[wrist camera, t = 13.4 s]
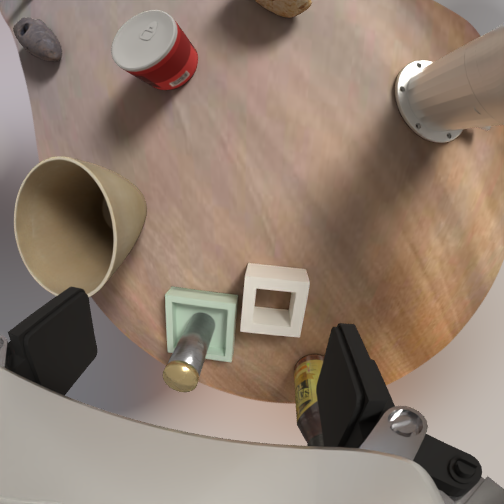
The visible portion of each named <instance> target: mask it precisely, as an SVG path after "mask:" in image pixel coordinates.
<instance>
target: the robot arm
mask: <svg viewBox="0 0 504 504" xmlns="http://www.w3.org/2000/svg"><path fill="white" fill-rule="evenodd" d="M400 89H401V91H400ZM395 97H396V102H397V106H398V108H399V111H400V113H401V115H402V117H403V118H404V120H405V122H406V123H407V124H408V126H409V127H410V128H411V129H412V130H413V131H414V132H415V133H416V134H418V135H419V136H421V137H422V138H424V139H426V140H429V141H431V142H436V143H443V142H449V141H451V140H454V139H455V138H457V137H458V136H459V135H460V134H461V132H462V131H463V129H468V128H477V127H478V128H481V129H483V130H485V131H488V130H489V129H490V127H491V126H498V125H504V23H503V24H501V25H500V26H498V27H497V28H495V29H494V30H492V31H490V32H489V33H486V34H485V35H483V36H481V37H479V38H477V39H475V40H473V41H471V42H469V43H468V44H466V45H464V46H462V47H460V48H458V49H456V50H454V51H453V52H451V53H449V54H447V55H445V56H444V57H442V58H440V59H438V60H436V61H435V62H431V61H426V60H418V61H414V62H411V63H409V64H408V65H406V66H405V67H404V68H403V69H402V70H401V71H400V73H399V74H398V76H397V79H396V83H395ZM416 126H417V128H416ZM8 334H9V337H10V340H11V341H10V342H9V343H8V342H7V339H6V338H5V337H4V336H2V335H0V504H504V489H503V488H502V487H500V486H499V485H498V484H497V483H495V482H494V481H493V480H492V479H490V478H489V477H487V478H486V479H484V478H482V477H481V475H482V469H481V465H480V463H479V461H478V460H477V459H476V458H475V457H473V456H472V455H470V454H468V453H465V452H463V451H461V450H459V449H457V448H455V447H452V446H450V445H448V444H446V443H444V442H442V441H440V440H437V439H436V438H434V437H431V436H429V435H427V434H426V432H427V427H428V425H427V421H426V419H425V418H424V416H423V415H422V414H421V413H420V412H419V411H417V410H415V409H413V408H410V407H407V406H396V407H395V405H394V403H393V401H392V398H391V396H390V394H389V392H388V389H387V387H386V385H385V382H384V380H383V378H382V376H381V373H380V371H379V369H378V367H377V365H376V363H375V361H374V360H371V359H370V357H369V355H368V352H367V350H366V348H365V346H364V344H363V341H362V339H361V337H360V335H359V333H358V331H357V329H356V326H355V325H354V324H342V323H339V324H338V325H337V327H333V328H332V330H331V334H330V338H329V342H328V346H327V349H326V353H325V357H324V361H323V364H322V368H321V371H320V375H319V378H318V382H317V386H316V394H317V401H318V407H319V414H320V420H321V427H322V434H323V442H324V447H317V446H296V445H279V444H267V443H256V442H247V441H238V440H231V439H223V438H217V437H210V436H205V435H199V434H194V433H188V432H183V431H178V430H174V429H169V428H165V427H161V426H156V425H153V424H149V423H145V422H141V421H138V420H134V419H131V418H127V417H124V416H120V415H117V414H114V413H111V412H107V411H105V410H102V409H98V408H96V407H93V406H90V405H88V404H85V403H82V402H79V401H77V400H74V399H71V398H69V397H66V396H65V394H66V393H67V392H68V390H69V389H70V388H71V387H72V385H73V384H74V383H75V382H76V380H77V379H78V378H79V377H80V376H81V374H82V373H83V372H84V371H85V369H86V368H87V367H88V366H89V364H90V363H91V362H92V361H93V360H94V358H95V357H96V355H97V345H96V341H95V336H94V330H93V324H92V318H91V311H90V305H89V298H88V295H87V293H85V290H84V289H81V288H76V287H69V288H68V289H66V290H65V291H63V292H62V293H60V294H59V295H58V296H56V297H55V298H53V299H52V300H51V301H49V302H48V303H46V304H45V305H44V306H42V307H41V308H39V309H38V310H37V311H35V312H34V313H33V314H31V315H30V316H29V317H27V318H26V319H25V320H23V321H22V322H21V323H19V324H18V325H17V326H16V327H14V328H13V329H12V330H10V331H9V332H8Z"/></svg>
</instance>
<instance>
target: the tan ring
mask: <svg viewBox="0 0 504 504" xmlns="http://www.w3.org/2000/svg"><path fill="white" fill-rule="evenodd" d="M255 1H256V2H257V3H259V5H261V6H263V7H264V8H266V9H267V10H269V11H271V12H273V13H275V14H277V15H279V16H282V17H288V18H291V17H294V16H297V15H299V14H301V13H302V12H304V11H305V10H307V9H308V8H309V7H310V6H311V4H312V1H311V0H255Z"/></svg>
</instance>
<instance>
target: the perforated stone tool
mask: <svg viewBox="0 0 504 504" xmlns="http://www.w3.org/2000/svg"><path fill="white" fill-rule="evenodd" d="M13 30H14V33H15V36H16V38H17V39H18V41H19V42H20V44H21V45H22V46H23V47H24V48H25V49H26V50H27V51H28V52H29V53H31V54H32V55H34V56H36V57H38V58H40V59H42V60H46V61H58V60H60V58H61V56H62V50H61V45H60V43H59V41H58V39H57V38H56V36H55V35H54V33H53V32H52V31H51V30H50V29H49V28H48V27H47V26H46V25H45V24H44V23H43V22H42V21H41V20H34V19H32V18H22V19H21V20H20V21H19V22H17V24H16V25H15V26H14V28H13Z"/></svg>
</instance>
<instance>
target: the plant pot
mask: <svg viewBox="0 0 504 504" xmlns="http://www.w3.org/2000/svg"><path fill="white" fill-rule="evenodd" d="M146 212H147V206H146V201H145V198H144V196H143V194H142V193H141V192H140V191H139V189H138V188H137V187H136V186H134V185H133V184H132V183H131V182H129V181H128V180H127V179H125V178H124V177H122V176H120V175H119V174H117V173H115V172H113V171H111V170H108V169H106V168H104V167H101V166H99V165H96V164H93V163H89V162H85V161H81V160H77V159H73V158H68V157H52V158H48V159H46V160H44V161H42V162H40V163H39V164H37V165H36V166H35V167H34V168H33V169H32V170H31V171H30V172H29V173H28V175H27V176H26V178H25V179H24V181H23V183H22V185H21V187H20V190H19V192H18V196H17V199H16V204H15V212H14V230H15V237H16V242H17V245H18V249H19V252H20V255H21V257H22V260H23V262H24V264H25V266H26V267H27V269H28V270H29V272H30V273H31V275H32V276H33V278H34V279H35V280H36V281H37V282H38V283H39V284H40V285H41V286H42V287H43V288H44V289H46V290H47V291H48V292H50V293H52V294H53V295H55V296H58V295H59V294H60V293H62V292H63V291H65V290H66V289H68V288H69V287H76V288H81V289H84V290H85V293H87V295H88V297H90V296H92V295H94V294H95V293H97V292H98V291H99V290H100V289H101V288H102V287H103V286H104V284H105V283H106V282H107V281H108V280H109V278H110V277H111V276H112V275H113V274H114V272H115V271H116V270H117V269H118V268H119V266H120V265H121V264H122V262H123V261H124V260H125V258H126V257H127V255H128V254H129V252H130V251H131V249H132V248H133V246H134V244H135V242H136V241H137V239H138V237H139V234H140V232H141V230H142V227H143V225H144V222H145V218H146Z"/></svg>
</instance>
